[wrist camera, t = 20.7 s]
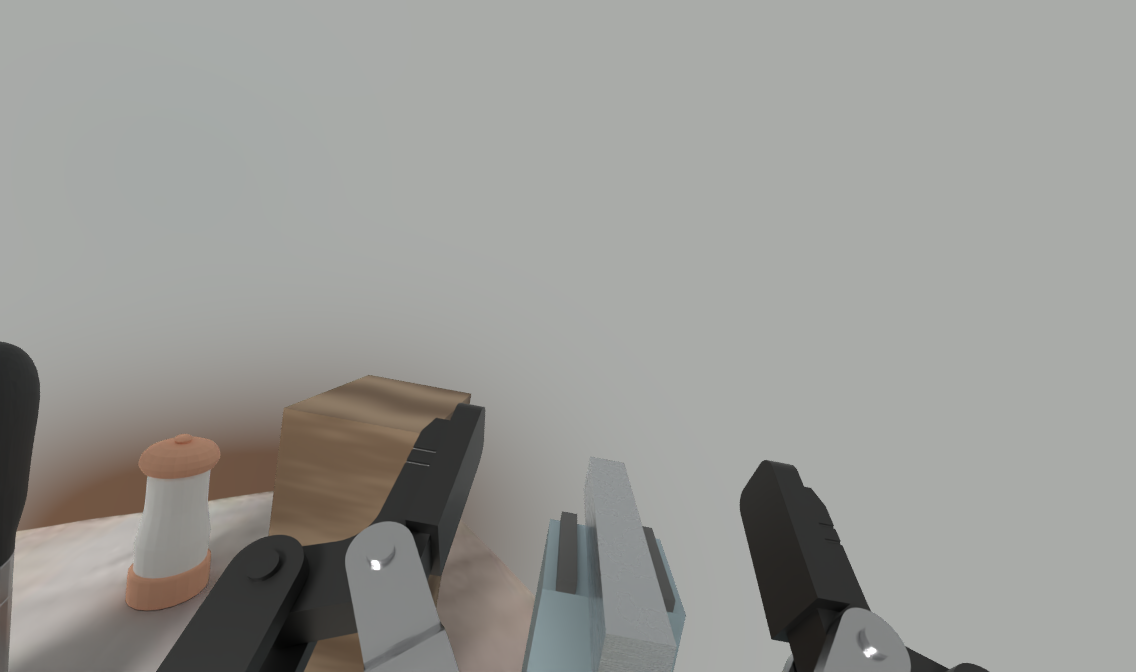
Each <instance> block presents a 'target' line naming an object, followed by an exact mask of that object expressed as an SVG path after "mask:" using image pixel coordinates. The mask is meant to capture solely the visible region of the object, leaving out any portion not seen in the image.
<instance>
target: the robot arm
mask: <svg viewBox="0 0 1136 672" xmlns="http://www.w3.org/2000/svg"><path fill="white" fill-rule="evenodd" d="M39 400H40V383H39V377H38V373H37V369H36V367H35V365H34V363H33V360H32V359H31V358H30V357H29V355H28V354H27V353H26V352H24V351H23V350H22V349H21V348H19V347H17V346H14V345H12V344H9V343H5V342H0V672H8V662H9V644H10V626H11V608H12V584H13V566H14V549H15V537H16V530H17V527H18V524H19V521H20V518H21V515H22V511H23V508H24V505H25V501H26V497H27V491H28V481H29V472H30V464H31V456H32V448H33V442H34V436H35V430H36V424H37V418H38V410H39ZM484 423H485V407H480V406H475V405H470V404H465V403H458V404H457V406H456V408H455V410H454V412H453V415H452V417H451V419H450V420H446V419H440V418H435V419H434V420H433V421H432V422H431V423H429V424H428V425H427V426H426V427H425V428H424V429H423V430H422V431H421V432H420V434H419V436H418V438H417V440H416V442H415V444H414V446H413V450H411V452H410V454H409V456H408V458H407V461H406V463H405V464H404V466H403V468H402V470H401V472H400V474H399V476H398V477H397V479H396V481H395V483H394V485H393V487H392V489H391V491H390V493H389V495H388V497H387V499H386V501H385V503H384V505H383V507H382V509H381V511H380V513H379V514H378V516H377V517H376V519H375V520H374V521H373V522H372V523H371V524H370V525H369V526H368V527H367V528H366V529H364V530H363V531H362V532H360V533H358V534H357V535H355V536H352V537H350V538H347V539H344V540H340V541H335V542H328V543H321V544H314V545H307V546H302V545H301V544H300V542H299V541H298V540H296V539H295V538H293V537H291V536H288V535H271V536H267V537H264V538H261V539H259V540H257V541H255V542H253V543H251V544H250V545H248V546H247V547H245V548H244V549H243V550H241V551H240V552H239V553H238V554H237V555H236V556H235V557H234V558H233V560H232V561H231V562H230V564H229V565H228V567H227V568H226V569H225V571H224V572H223V574H222V575H221V577H220V578H219V580H218V581H217V583H216V584H215V586H214V587H213V589H212V590H211V592H210V593H209V595H208V596H207V597H206V599H205V600H204V602H203V603H202V605H201V606H200V608H199V609H198V611H197V612H196V614H195V615H194V617H193V618H192V620H191V621H190V622H189V624H188V625H187V627H186V628H185V630H184V631H183V633H182V634H181V636H180V637H179V639H178V640H177V642H176V643H175V645H174V646H173V648H172V649H171V650H170V652H169V653H168V655H167V656H166V658H165V659H164V661H163V662H162V664H161V665H160V667H159V668H158V670H157V671H156V672H304V670H305V668H306V666H307V664H308V662H309V659H310V657H311V655H312V653H313V650H314V648H315V646H316V644H317V641H319V640H324V639H329V638H334V637H339V636H344V635H349V634H354V633H358V635H359V641H360V646H361V651H362V657H363V663H364V672H459V670H458V666H457V663H456V660H455V657H454V654H453V651H452V648H451V645H450V642H449V639H448V636H447V633H446V631H445V629H444V627H443V625H442V624H441V622H440V620H439V617H438V614H437V611H436V608H435V604H434V601H433V598H432V595H431V592H430V589H429V585H428V582H427V581H428V578H429V576H430V575H435V576H441V575H442V572H443V569H444V566H445V563H446V560H447V557H448V554H449V551H450V548H451V545H452V542H453V539H454V536H455V533H456V530H457V527H458V524H459V521H460V518H461V515H462V512H463V509H464V506H465V504H466V501H467V497H468V495H469V491H470V489H471V486H472V483H473V480H474V477H475V474H476V471H477V468H478V465H479V462H480V458H481V454H482V450H483V442H484V425H485V424H484ZM740 512H741V517H742V521H743V525H744V529H745V533H746V537H747V541H748V545H749V549H750V553H751V558H752V561H753V566H754V569H755V574H756V578H757V581H758V586H759V590H760V594H761V598H762V602H763V606H764V610H765V614H766V619H767V623H768V627H769V631H770V635H771V639H773V640H778V641H783V642H789V643H790V647H791V651H792V654H791V655H790V656H789V658H788V659H787V661H786V664H785V666H784V669H783V671H782V672H989V671H987V670H986V669H984V668H982V667H980V666H977V665H974V664H970V663H962V664H959V665H957V666H956V667H953V668H951V669H948V668H946V667H944V666H942V665H940V664H938V663H936V662H934V661H933V660H931V659H928V658H927V657H925V656H923V655H921V654H919V653H917V652H915V651H913V650H911V649H909V648H907V647H906V646H905V645H904V643H903V642H902V640H901V639H900V637H899V636H898V634H897V633H896V632H895V631H894V630H893V628H892V627H891V626H890V625H889V624H888V623H887V622H886V621H884V620H883V619H882V618H881V617H879V616H878V615H876V614H874V613H873V612H871V610H870V608H869V606H868V604H867V602H866V600H865V597H864V595H863V593H862V590H861V588H860V586H859V583H858V581H857V579H856V576H855V574H854V572H853V569H852V567H851V565H850V562H849V560H848V558H847V555H846V553H845V551H844V548H843V546H842V545H840V539H839V537H838V534H837V532H836V530H835V529H833V526H834V525H833V523H832V520H831V518H830V516H829V514H828V511H827V509H826V506H825V505H824V504H823V503H822V501H821V500H820V499H819V498H818V496H817V495H816V494H815V493H814V491H813V490H812V489H811V488H808V487H804V486H803V483H802V481H801V478H800V476H799V473H798V471H797V469H796V468H795V467H794V466H793V465H789V464H784V463H779V462H773V461H768V460H764V461H762V462H761V464H760V465H759V467H758V468H757V470H756V471H755V473H754V474H753V476H752V477H751V479H750V480H749V482H748V483H747V485H746V486H745V488H744V489H743V491H742V494H741V498H740Z"/></svg>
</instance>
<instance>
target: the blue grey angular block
mask: <svg viewBox="0 0 1136 672" xmlns="http://www.w3.org/2000/svg"><path fill="white" fill-rule="evenodd" d="M642 527H643V526H642ZM643 531H644V534H645V538H646V541H647V545H648V548H649V552H650V555H651V559H652V562H653V566H654V569H655V573H656V576H657V580H658V583H659V587H660V590H661V594H662V597H663V601H664V604H665V608H666V611H667V615H668V618H669V622H670V625H671V629H672V632H673V636H674V639H675V642H676V646H677V647H676V652H675V656H674V660H673V665H672V669H671V672H673V669H674V665H675V660H676V656H677V652H678V647H679V643H680V639H681V634H682V630H683V626H684V621H685V617H686V615H685V611H684V608H683V605H682V602H681V600H680V597H679V594H678V591H677V588H676V585H675V582H674V579H673V576H672V573H671V570H670V568H669V565H668V562H667V559H666V556H665V553H664V550H663V547H662V544H661V541H660V540H659V539H655V536H654V533H653V530H652V528H649V527H643ZM522 672H592V670H591V646H590V622H589V598H588V574H587V550H586V526H585V525H579V524H577V514H573V513H568V512H562V515H561V520H560V521H558V520H552V519H551V520H550V524H549V529H548V534H547V539H546V545H545V550H544V555H543V561H542V566H541V571H540V577H539V582H538V587H537V592H536V598H535V603H534V608H533V614H532V619H531V624H530V630H529V635H528V640H527V645H526V651H525V656H524V661H523V667H522Z"/></svg>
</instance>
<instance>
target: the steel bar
mask: <svg viewBox="0 0 1136 672" xmlns="http://www.w3.org/2000/svg"><path fill="white" fill-rule="evenodd" d="M584 502H585V526H586V550H587V574H588V598H589V622H590V646H591V670H592V672H671V669H672V665H673V660H674V656H675V652H676V647H677V646H676V642H675V639H674V636H673V632H672V629H671V625H670V622H669V618H668V615H667V611H666V608H665V604H664V601H663V597H662V594H661V590H660V587H659V583H658V580H657V576H656V573H655V569H654V566H653V562H652V559H651V555H650V552H649V548H648V545H647V541H646V538H645V534H644V531H643V527H642V524H641V520H640V517H639V513H638V510H637V506H636V503H635V499H634V496H633V492H632V489H631V485H630V482H629V478H628V475H627V472H626V468H625V464H624V463H622V462H616V461H611V460H605V459H600V458H595V457H590V461H589V466H588V471H587V476H586V481H585V486H584Z"/></svg>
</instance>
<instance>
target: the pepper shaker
mask: <svg viewBox="0 0 1136 672" xmlns="http://www.w3.org/2000/svg"><path fill="white" fill-rule="evenodd" d="M219 458H220V450H219V447H218V446H217V445H216V444H215V443H214V442H213V441H211V440H209V439H206V438H200V437H192V436H191V435H189V434H181V435H177V436H176V437H175V438H171V439H167V440H163V441H160V442H157V443H155V444H153V445H151V446H150V447H149V448H147V449H146V450H145V451H144V452H143V453H142V455H141V457H140V460H139V463H138V464H139V467H140V469H141V470H142V472H143V473H144V474H145V475H147V476H148V478H147V488H146V498H145V508H144V511H143V514H142V518H141V521H140V524H139V527H138V531H137V534H136V537H135V542H134V561H133V564H132V565H131V566H130V568H129V570H128V577H127V588H126V600H125V601H126V603H127V604H128V606H129V607H132V608H134V609H136V610H146V611H149V610H159V609H164V608H168V607H172V606H175V605H177V604H180V603H182V602H185V601H187V600H189V599H190V598H192V597H194V596H195V595H197V594H198V593H199V592H200V591H202V590H203V589H204V588H205V586H206V584H207V583H208V580H209V571H210V561H211V551H210V550H209V549H208V544H209V537H210V530H211V527H210V517H209V508H208V490H209V479H210V469H212V468H213V467H214V466H215V465H216V463H217V462H218V460H219Z"/></svg>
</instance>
